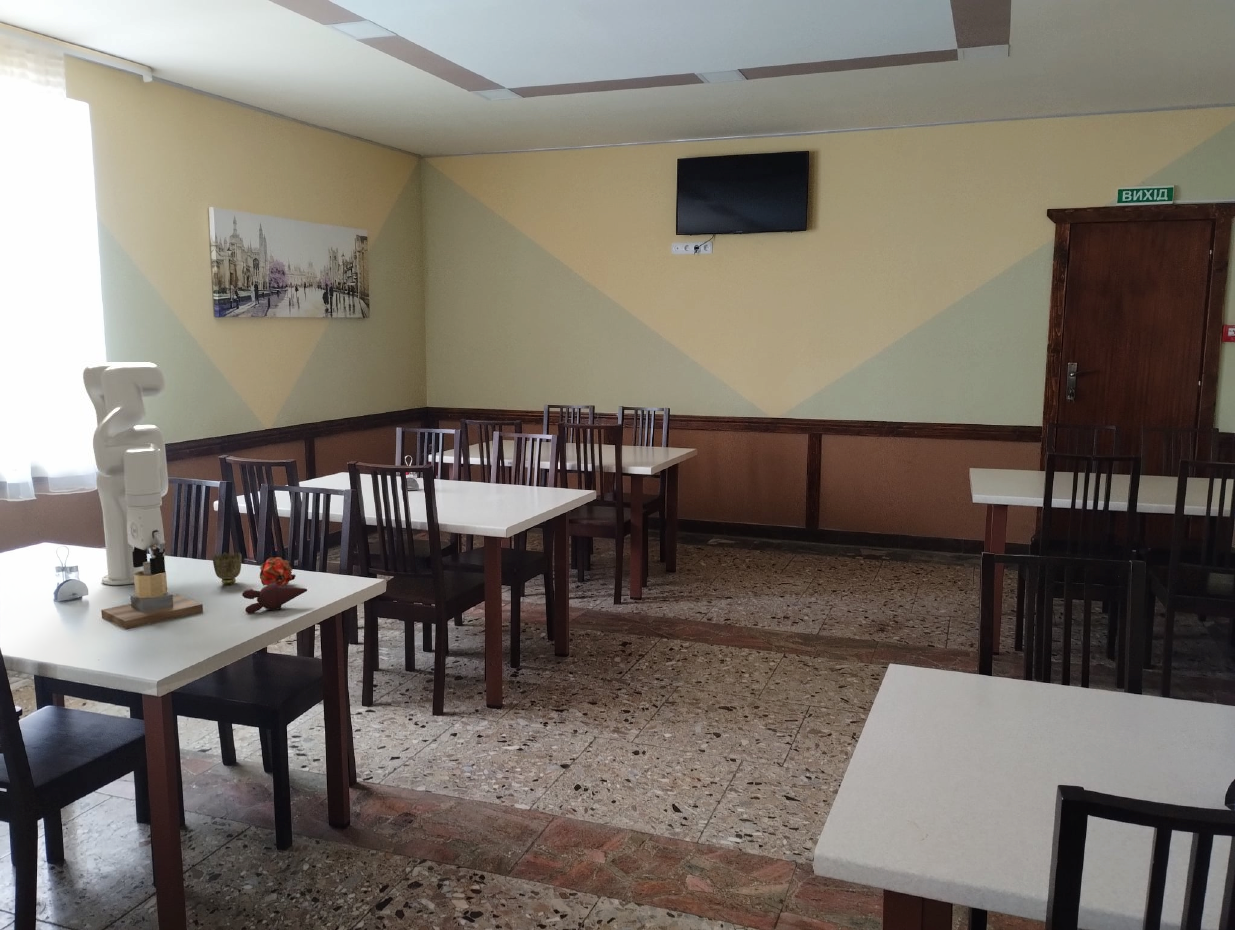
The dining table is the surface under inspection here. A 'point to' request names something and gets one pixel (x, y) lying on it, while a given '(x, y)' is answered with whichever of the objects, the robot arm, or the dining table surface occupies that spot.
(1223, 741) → the dining table surface
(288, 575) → the dragon fruit
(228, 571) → the cup
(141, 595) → the hub
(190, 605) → the shaft stand
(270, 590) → the icecream
